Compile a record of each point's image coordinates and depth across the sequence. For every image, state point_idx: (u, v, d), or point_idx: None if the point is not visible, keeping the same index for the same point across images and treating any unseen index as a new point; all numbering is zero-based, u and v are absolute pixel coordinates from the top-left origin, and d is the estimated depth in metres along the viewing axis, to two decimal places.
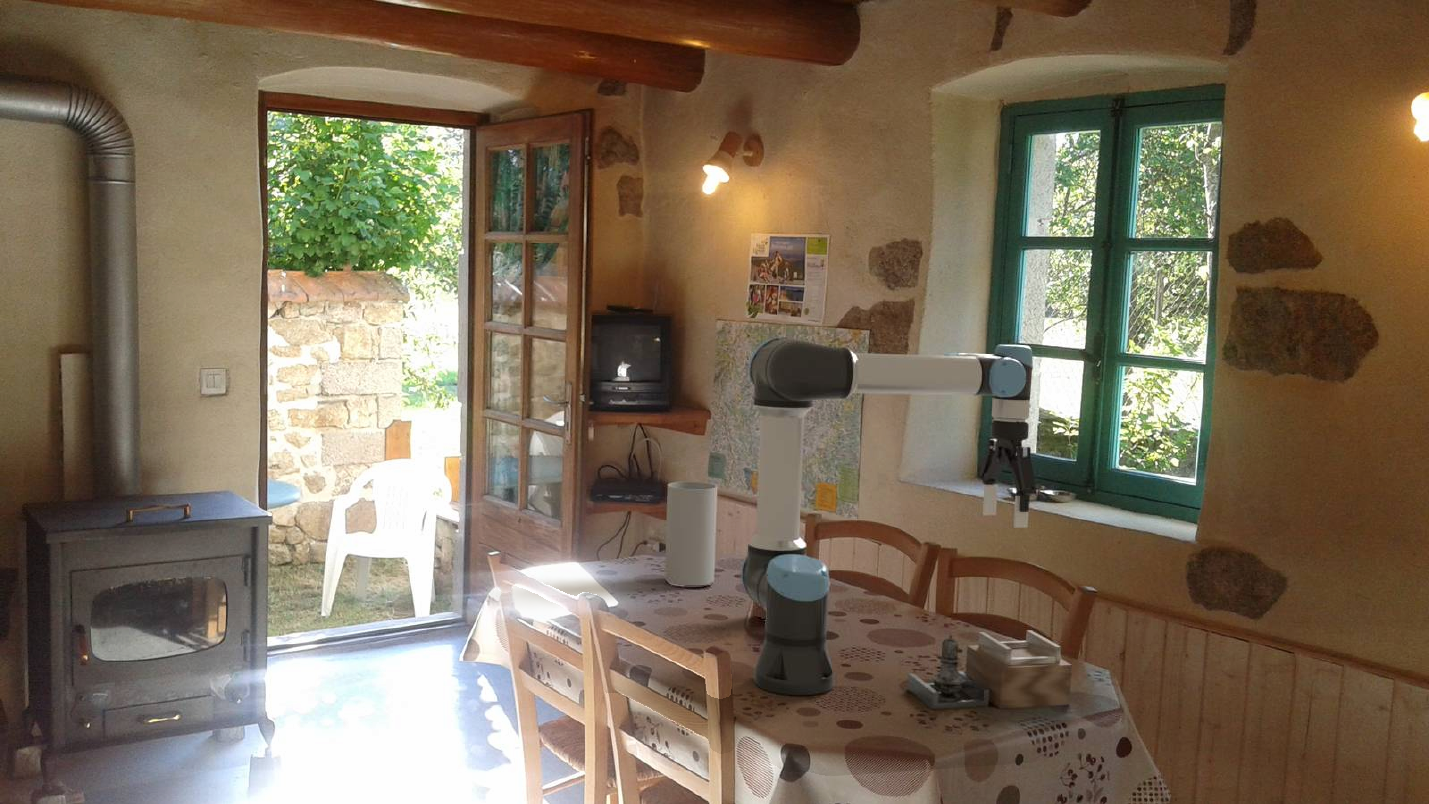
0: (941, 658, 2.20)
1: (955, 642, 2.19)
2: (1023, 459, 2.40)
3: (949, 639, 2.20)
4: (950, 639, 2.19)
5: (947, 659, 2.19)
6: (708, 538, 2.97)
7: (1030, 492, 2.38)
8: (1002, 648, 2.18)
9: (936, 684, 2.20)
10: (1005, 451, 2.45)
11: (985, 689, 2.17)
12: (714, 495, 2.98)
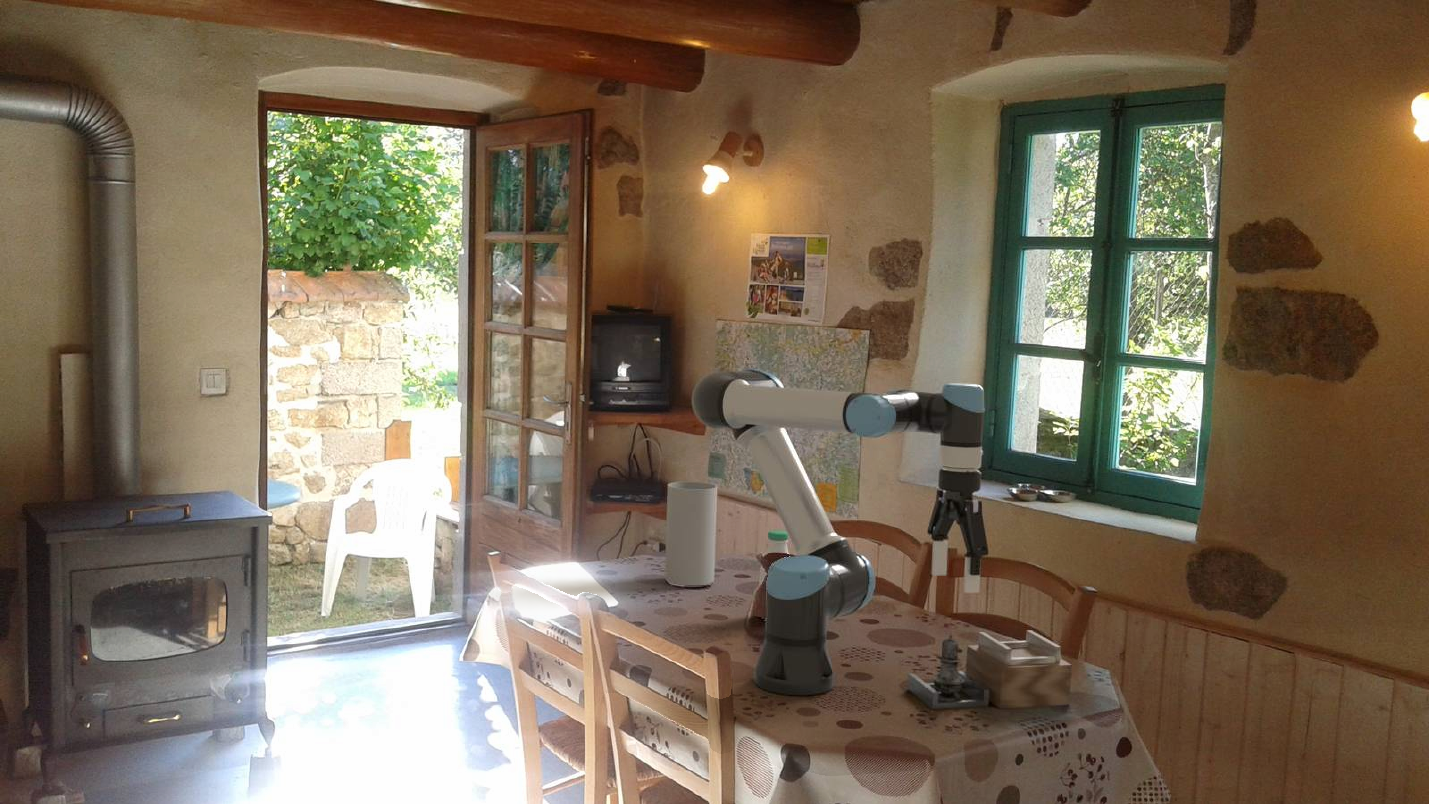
0: (941, 658, 2.20)
1: (955, 642, 2.19)
2: (973, 515, 2.11)
3: (949, 639, 2.20)
4: (950, 639, 2.19)
5: (947, 659, 2.19)
6: (708, 538, 2.97)
7: (981, 553, 2.08)
8: (1002, 648, 2.18)
9: (936, 684, 2.20)
10: (954, 505, 2.15)
11: (985, 689, 2.17)
12: (714, 495, 2.98)
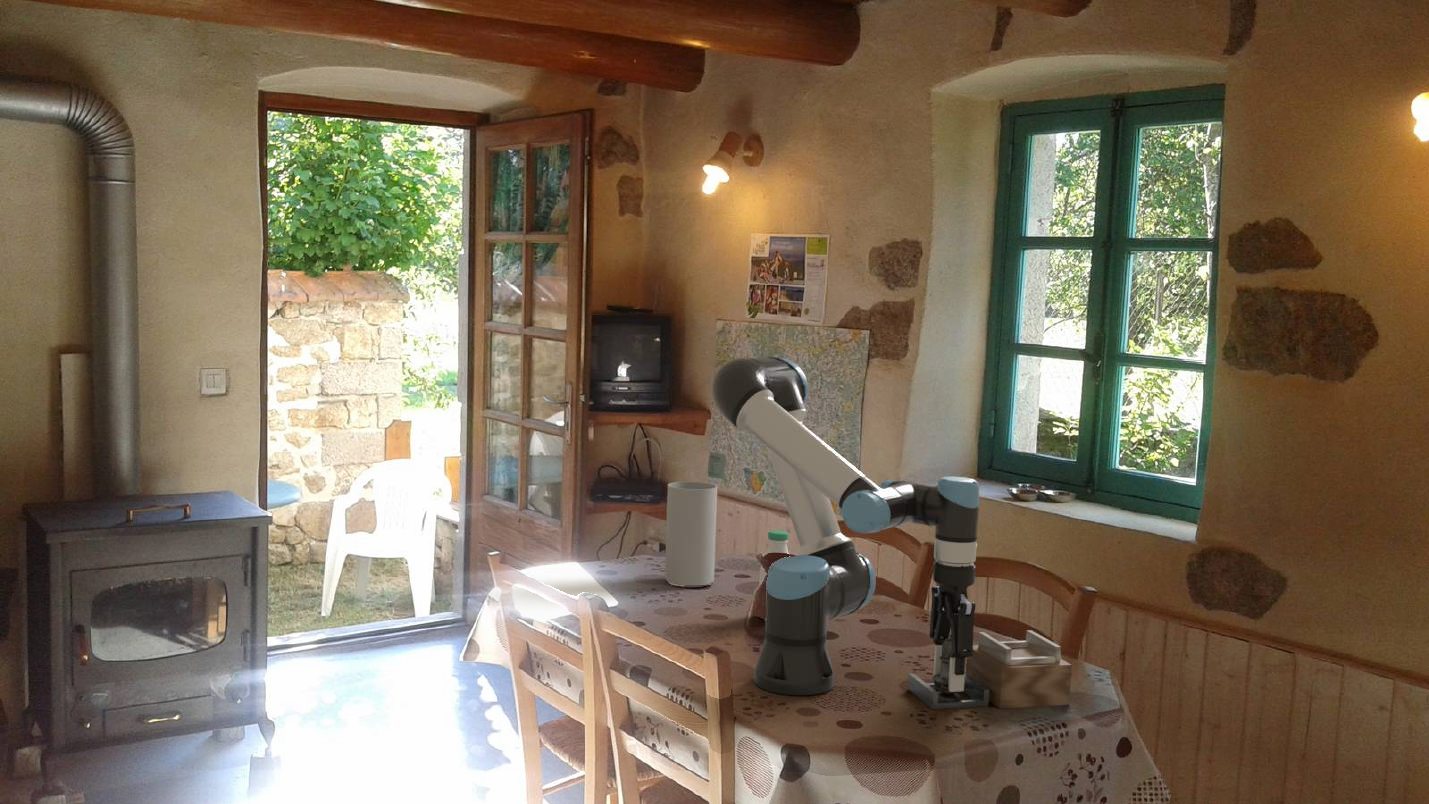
0: (941, 658, 2.20)
1: None
2: (965, 618, 2.13)
3: (949, 639, 2.20)
4: (950, 639, 2.19)
5: (947, 659, 2.19)
6: (708, 538, 2.97)
7: (965, 655, 2.14)
8: (1002, 648, 2.18)
9: (936, 684, 2.20)
10: (948, 600, 2.17)
11: (985, 689, 2.17)
12: (714, 495, 2.98)
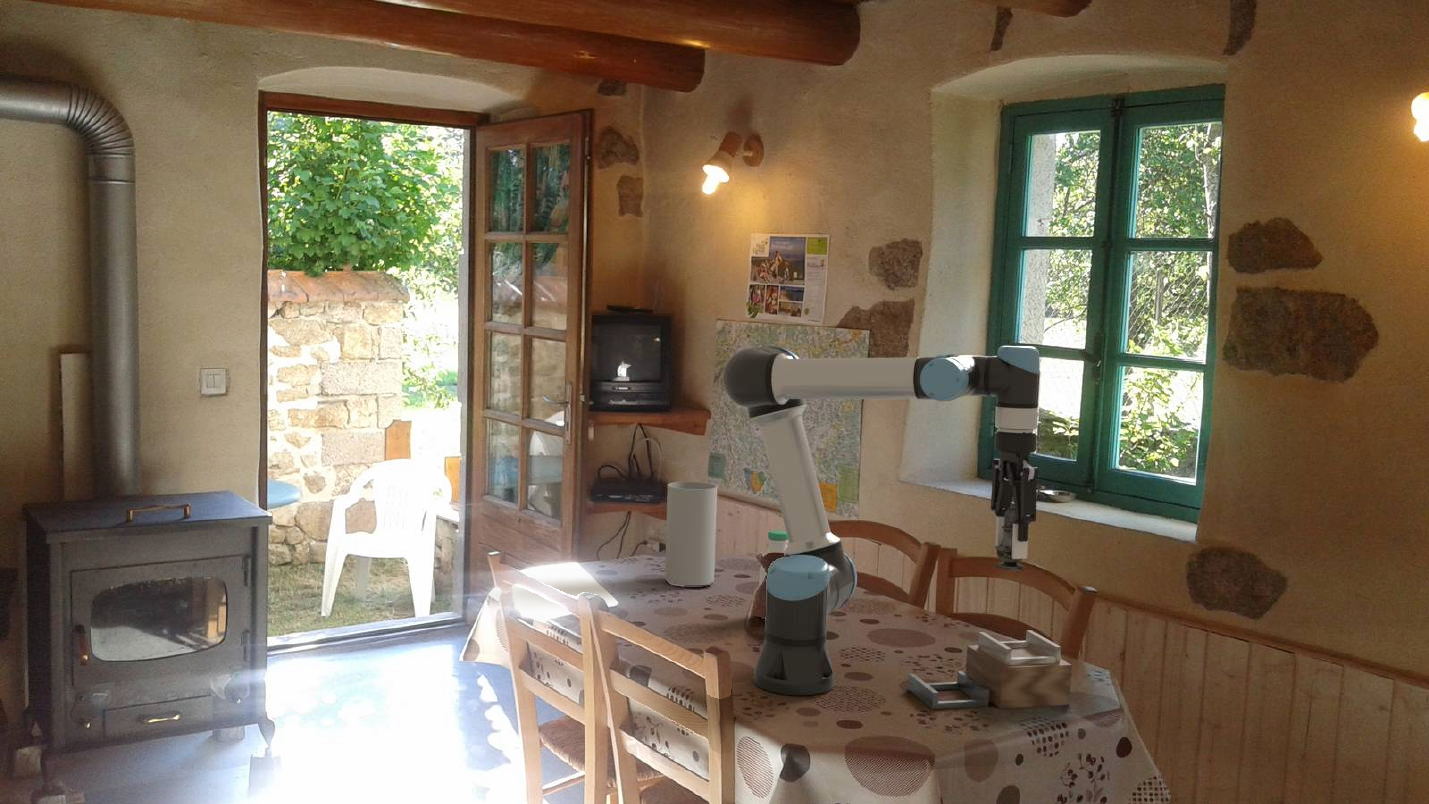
0: (1003, 527, 2.20)
1: None
2: (1028, 482, 2.14)
3: (1011, 508, 2.20)
4: (1012, 507, 2.20)
5: (1009, 527, 2.19)
6: (708, 538, 2.97)
7: (1029, 520, 2.14)
8: (1002, 648, 2.18)
9: (999, 553, 2.20)
10: (1010, 467, 2.17)
11: (985, 689, 2.17)
12: (714, 495, 2.98)
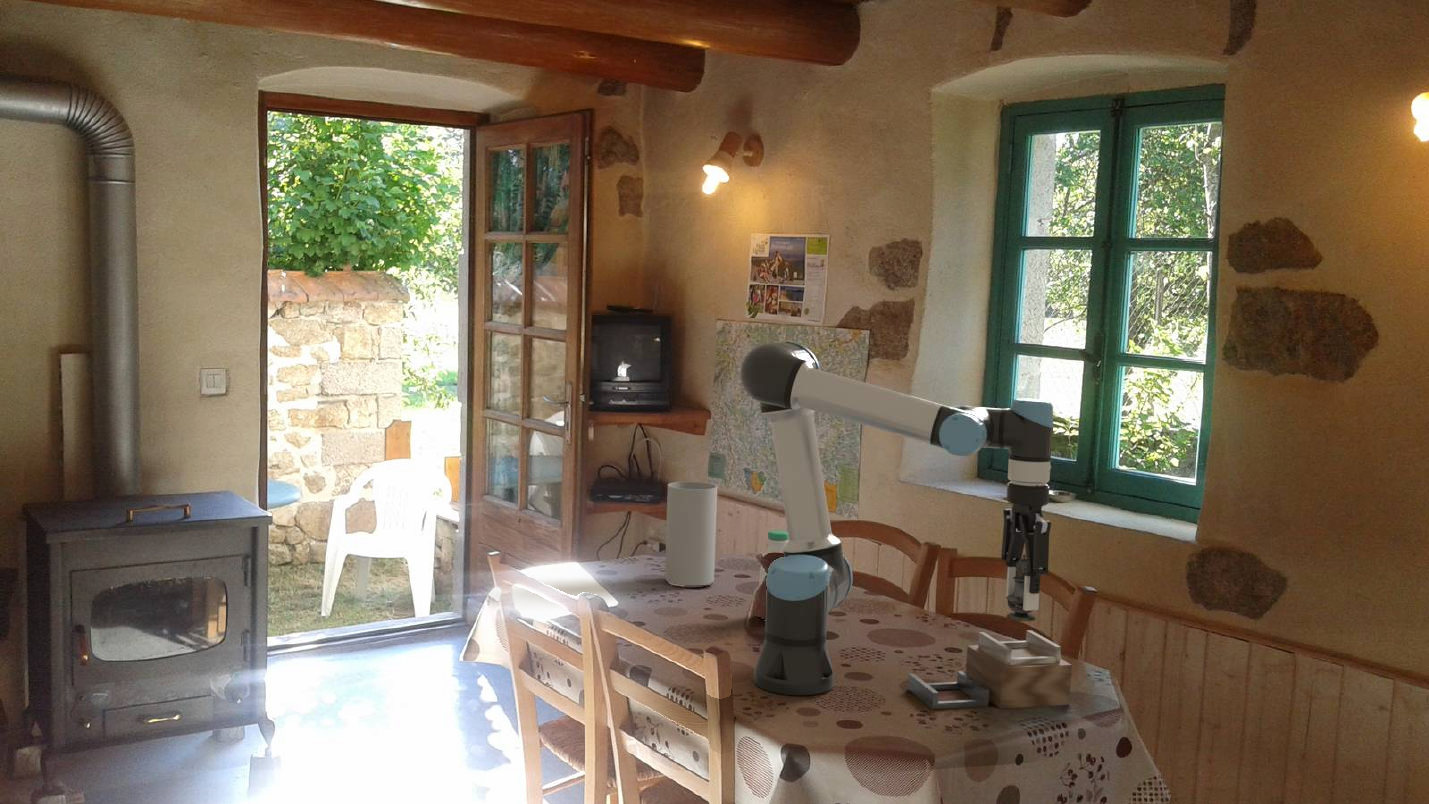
0: (1015, 578, 2.22)
1: None
2: (1040, 536, 2.15)
3: (1023, 559, 2.22)
4: (1023, 559, 2.22)
5: (1021, 578, 2.21)
6: (708, 538, 2.97)
7: (1041, 572, 2.16)
8: (1002, 648, 2.18)
9: (1010, 604, 2.22)
10: (1023, 520, 2.19)
11: (985, 689, 2.17)
12: (714, 495, 2.98)
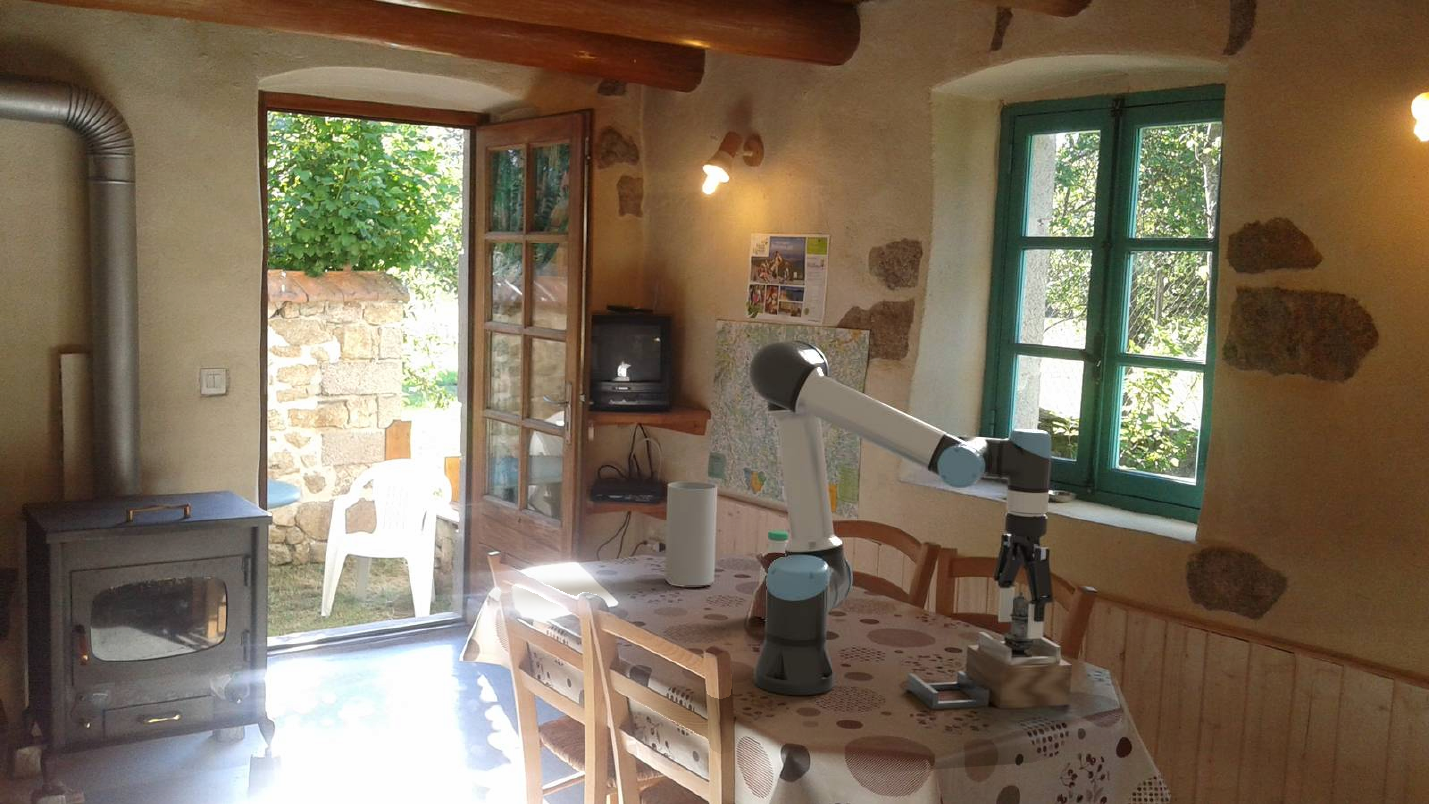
0: (1012, 615, 2.23)
1: (1026, 599, 2.22)
2: (1040, 563, 2.15)
3: (1020, 596, 2.23)
4: (1020, 596, 2.22)
5: (1018, 616, 2.22)
6: (708, 538, 2.97)
7: (1046, 601, 2.14)
8: (1002, 648, 2.18)
9: (1007, 641, 2.22)
10: (1021, 549, 2.19)
11: (985, 689, 2.17)
12: (714, 495, 2.98)
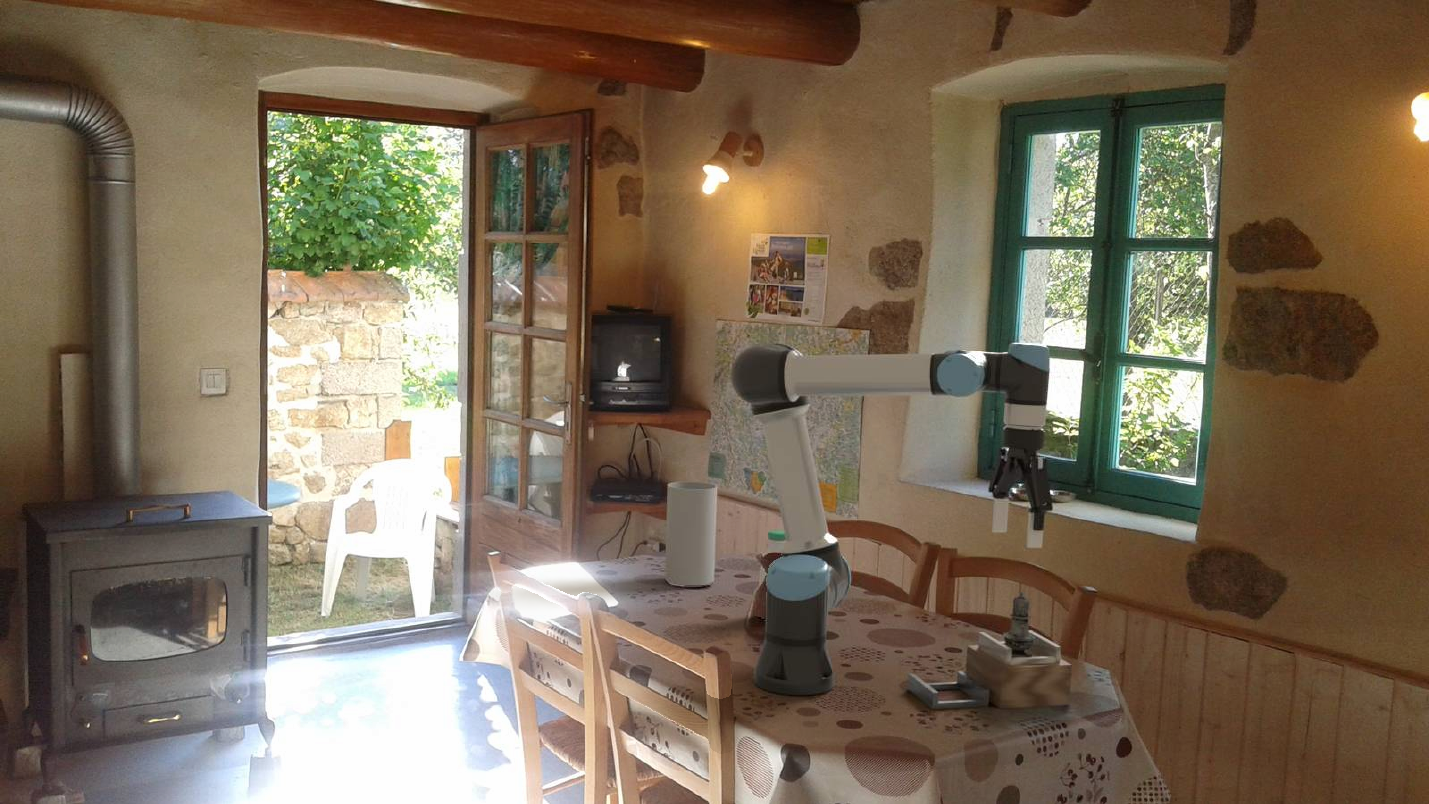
0: (1012, 615, 2.23)
1: (1026, 599, 2.22)
2: (1038, 471, 2.15)
3: (1020, 596, 2.22)
4: (1020, 596, 2.22)
5: (1018, 616, 2.22)
6: (708, 538, 2.97)
7: (1045, 509, 2.12)
8: (1002, 648, 2.18)
9: (1007, 641, 2.22)
10: (1018, 462, 2.19)
11: (985, 689, 2.17)
12: (714, 495, 2.98)
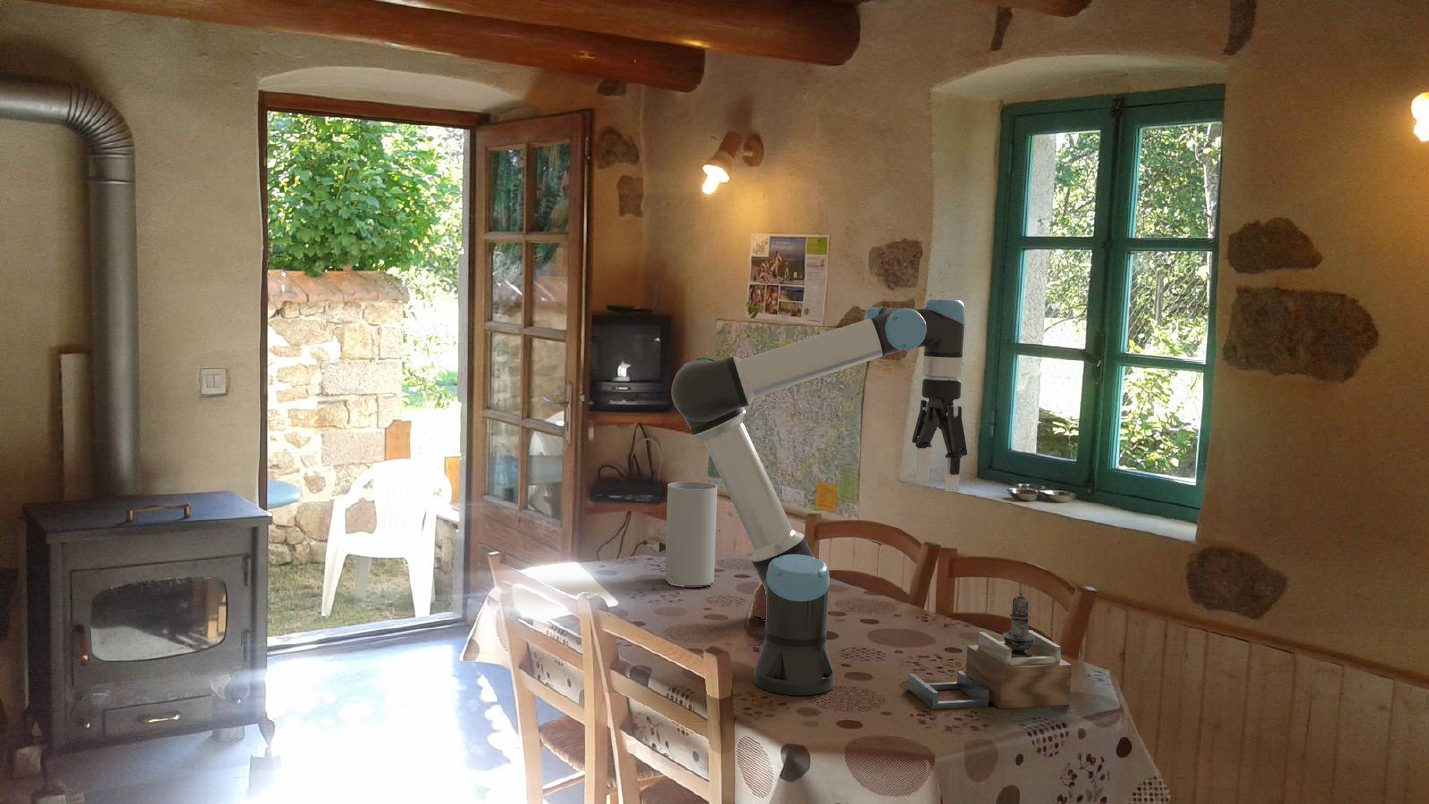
0: (1012, 615, 2.23)
1: (1025, 599, 2.22)
2: (954, 419, 2.28)
3: (1019, 596, 2.23)
4: (1020, 596, 2.22)
5: (1018, 616, 2.22)
6: (708, 538, 2.97)
7: (960, 453, 2.26)
8: (1002, 648, 2.18)
9: (1007, 641, 2.22)
10: (936, 411, 2.32)
11: (985, 689, 2.17)
12: (714, 495, 2.98)
